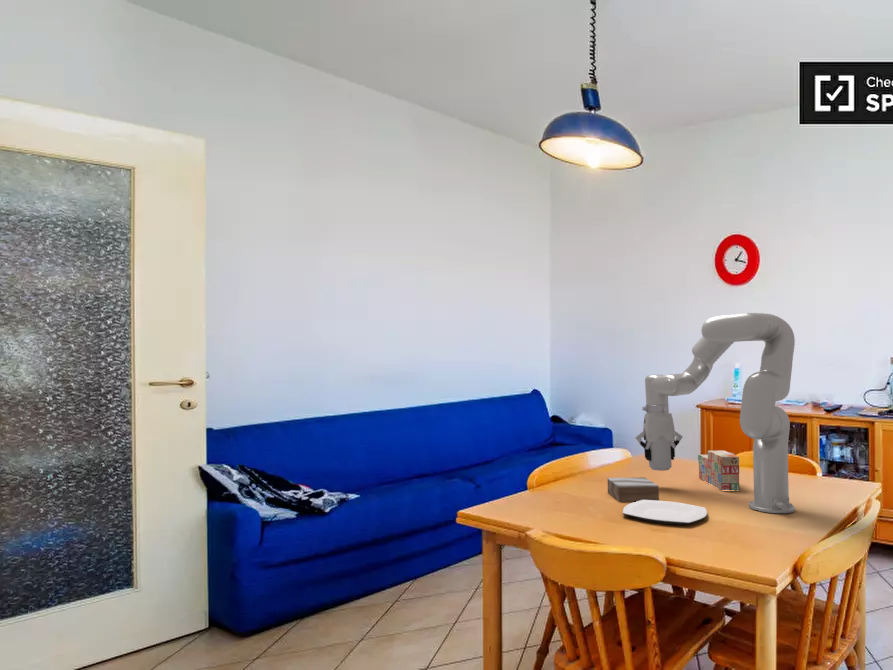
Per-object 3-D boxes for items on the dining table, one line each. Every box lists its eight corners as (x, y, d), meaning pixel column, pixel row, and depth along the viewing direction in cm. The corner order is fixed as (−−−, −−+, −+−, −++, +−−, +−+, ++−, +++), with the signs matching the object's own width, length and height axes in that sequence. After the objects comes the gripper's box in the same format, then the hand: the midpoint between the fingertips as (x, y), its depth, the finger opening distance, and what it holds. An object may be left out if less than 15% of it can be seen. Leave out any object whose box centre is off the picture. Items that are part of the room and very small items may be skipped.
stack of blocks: (698, 478, 237) (697, 446, 237) (715, 478, 237) (714, 446, 237) (721, 492, 216) (720, 456, 216) (740, 491, 215) (739, 456, 216)
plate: (638, 503, 202) (638, 497, 202) (714, 513, 189) (714, 507, 189) (613, 519, 184) (613, 513, 184) (695, 532, 170) (695, 525, 170)
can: (646, 467, 225) (645, 434, 225) (667, 467, 225) (666, 433, 225) (652, 471, 217) (651, 436, 218) (674, 470, 217) (672, 435, 218)
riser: (658, 501, 203) (658, 485, 204) (619, 501, 203) (618, 486, 203) (645, 491, 216) (644, 477, 217) (607, 492, 216) (607, 478, 216)
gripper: (636, 411, 218) (639, 462, 217) (686, 409, 219) (688, 460, 218) (629, 409, 226) (632, 459, 225) (677, 408, 226) (680, 457, 225)
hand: (659, 459), depth 221 cm, fingers closed on can, 7 cm apart
